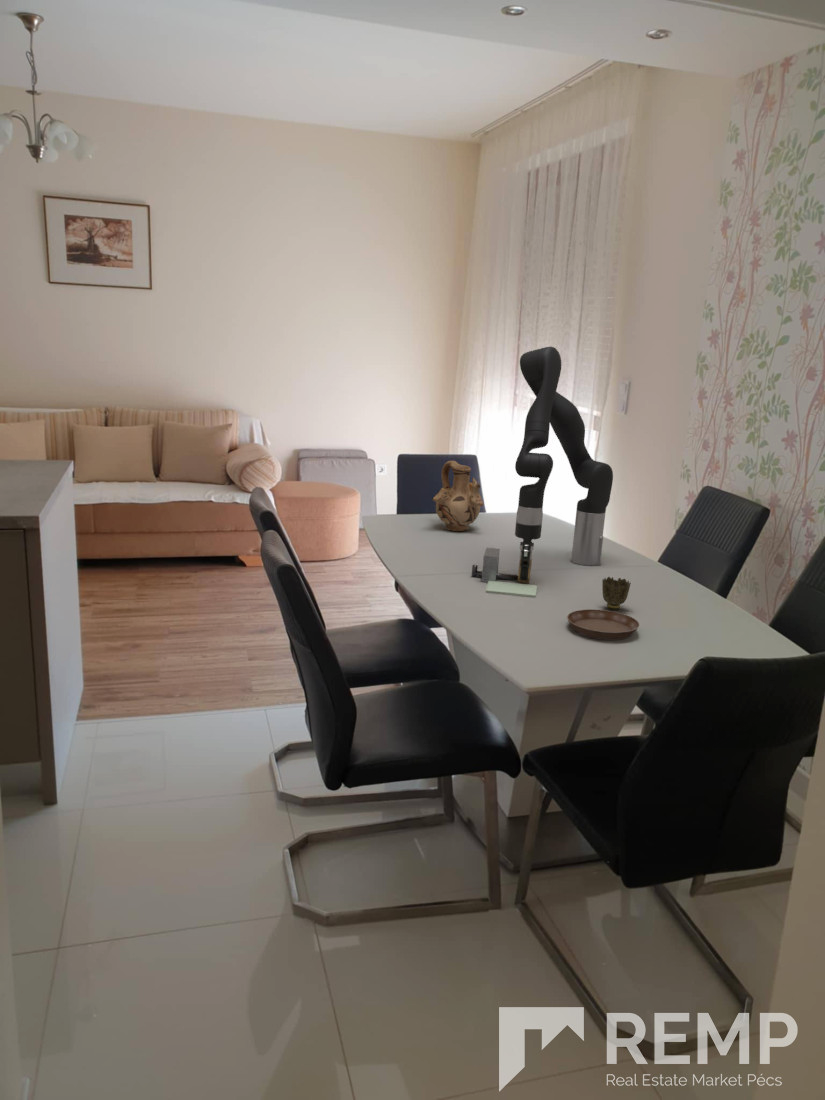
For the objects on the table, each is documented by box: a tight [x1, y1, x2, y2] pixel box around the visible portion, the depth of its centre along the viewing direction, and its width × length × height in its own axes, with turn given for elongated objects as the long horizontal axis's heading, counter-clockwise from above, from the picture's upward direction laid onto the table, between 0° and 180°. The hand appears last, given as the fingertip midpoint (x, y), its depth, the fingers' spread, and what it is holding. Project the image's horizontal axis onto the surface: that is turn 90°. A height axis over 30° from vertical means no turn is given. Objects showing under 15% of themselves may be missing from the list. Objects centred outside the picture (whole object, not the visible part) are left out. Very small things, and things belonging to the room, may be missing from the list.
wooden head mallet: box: [471, 558, 533, 585], centre depth 248 cm, size 17×4×7 cm, turn 80°
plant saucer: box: [566, 608, 640, 641], centre depth 209 cm, size 18×18×3 cm
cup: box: [601, 576, 631, 611], centre depth 226 cm, size 8×7×8 cm
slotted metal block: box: [481, 547, 501, 584], centre depth 249 cm, size 4×10×8 cm, turn 170°
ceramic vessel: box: [432, 460, 484, 532], centre depth 308 cm, size 18×19×25 cm
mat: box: [485, 580, 538, 598], centre depth 239 cm, size 14×10×1 cm
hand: (523, 577), depth 248 cm, fingers closed on wooden head mallet, 3 cm apart
